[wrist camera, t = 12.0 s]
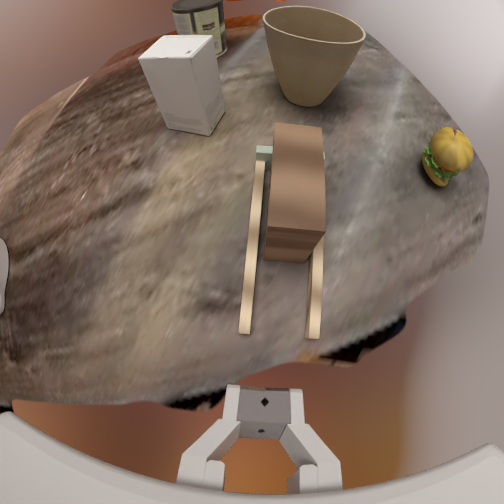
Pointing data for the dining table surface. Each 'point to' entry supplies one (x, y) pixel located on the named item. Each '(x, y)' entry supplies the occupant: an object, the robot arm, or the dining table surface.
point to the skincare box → (185, 82)
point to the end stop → (266, 155)
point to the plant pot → (310, 50)
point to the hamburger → (447, 155)
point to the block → (295, 194)
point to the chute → (251, 260)
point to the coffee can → (201, 20)
